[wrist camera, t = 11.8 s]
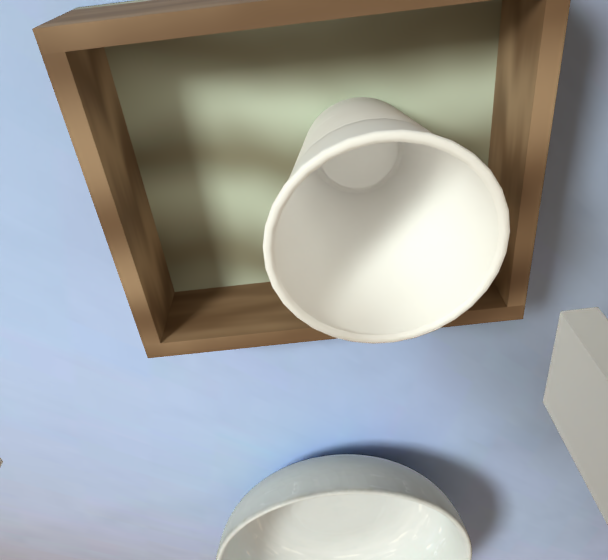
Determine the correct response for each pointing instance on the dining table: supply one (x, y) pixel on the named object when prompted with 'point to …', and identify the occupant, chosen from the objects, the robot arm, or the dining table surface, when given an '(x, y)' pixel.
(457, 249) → the cup
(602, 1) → the dining table surface
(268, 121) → the crate
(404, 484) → the serving bowl
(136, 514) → the dining table surface
